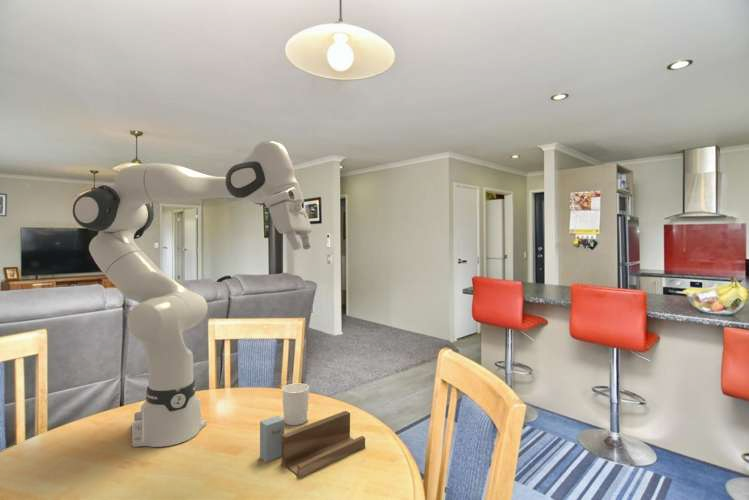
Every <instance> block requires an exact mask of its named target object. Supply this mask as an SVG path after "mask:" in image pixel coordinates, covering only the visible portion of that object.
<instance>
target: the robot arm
mask: <svg viewBox="0 0 749 500" xmlns="http://www.w3.org/2000/svg"><path fill="white" fill-rule="evenodd" d="M295 175H296V174H295V169H294V165H293V162H292V159H291V157H290V155H289V153H288V151H287V149H286V148H285V146H284V145H283V144H281V143H279V142H276V141H262V142H259V143H257V144H256V145H255V146H254V147H253V149H252V151H251V152H250V154H249V155H248V156H247V157H245V158H244V159H243V160H241V162H239V163H237V164H234V165H232V166H231V167H230V168H229V169H228V171H227V172H226V175H225V176H215V175H210V174H205V173H202V172H199V171H196V170H193V169H190V168H187V167H184V166H181V165H177V164H171V163H166V162H165V163H164V162H160V163H159V162H152V163H151V162H150V163H141V164H135V165H129V166H126V167H124V168H121V169H120V170H118V172H117V174H116V175H115V180H114V185H113V186H110V185H107V184H103V185H102V184H101V185H99V186H98V187H96V188H94V189H92V190H89V191H86V192H84V193H82V194H80V195H79V196H78V197H77V198H76V199H75V201H74V202H73V205H72V216H73V218H74V220H75V222H76V223H77V224H78V225H79V226H81V227H82V228H84V229H87V230H90V231H94V232H97V235H95V236H94V237H93V238H92V239H91V240H90V243H89V245H88V251H89V253H90V256H91V257H92V259H93V261H94V262H95V264H96V265H97V267H98V268H99V269H100V271H101V272H102V274H104V275H105V277H106V278H107V279H108V281H110V282H111V283H112V285H114V286H115V288H116V289H117V290H118V292H120V293H121V294H122V295H123V297H125V298H126V299H128V300H131V301H134V302H137V303H139V304H137V305H135V306H133V308H131V310H130V311H129V313H128V315H127V321H126V322H127V328H128V330H129V332H130V333H131V335H132V336H133V337H134V338H135V339H137V340H139V341H140V342H141V344H142V345H143V348H144V351H145V353H146V359H147V365H148V366H147V368H148V386H147V388H146V391H145V401H144V402H143V403H142V405H140V411H136V412H134V413H133V414H134V417H133V419H134V421H132V423H131V446H132V447H134V448H135V447H152V448H162V447H163V448H164V447H168V446H169V447H171V446H173V445H177V444H178V445H179V444H181V443H184V442H186V441H189V440H191V439H193V438H194V437H196V435H198V434H199V432H200V431H201V429H203V428H204V427H206V426H207V420H206V419H204V418H202V407H201V399H200V397H198V396H197V395H196V381H195V379H194V354H193V352H192V350H191V349H189V348H188V347H187V346H186V344H185V340H184V335H183V333H184V332H185V331H187V330H191V329H193V328H194V327H196V326H197V325H199V324H200V323H201V322H202V321H203V320H205V318H206V316H207V314H208V311H209V309H208V308H209V306H208V303H207V300H206V299H205V297H204V296H202V294H199V293H197V292H195V291H191V290H189V289H188V288H186V287H185V286H183V285H182V284H180V283H178V282H177V281H176V280H174V279H173V278H171V277H170V276H168V275H167V274H166V273H165V272H164V271H162V270H161V269H160V267H158V266H157V265H156V264H155V263H154V262H153V261H152V260H151V259H150V258H149V257H148V256H147V254H146V253H145V252H144V251H143V250H142V249H141V248H140V247H139V246H138V245H137V244H136V241H135V240H136V239H139V238H141V237H142V236H143V235H144V233H145V232H146V231H147V229H149V228H150V226H151V225H152V223H153V220H154V216H155V215H154V209H153V207H152V205H151V204H175V203H180V202H181V203H182V202H188V201H189V202H191V201H196V200H199V201H200V200H206V199H239V200H242V201H243V200H244V201H247V202H251V203H254V204H256V205H259V206H265V207H266V208H267V209H268V212H269V216H270V218H271V220H272V222H273V225H274V227H275V229H276V230H277V232H278V233H279V234H283V235H284V234H285V236H286V239H287V240H288V241H289V243H290V245H291V248H292V250H294V251H297V250H301V248H303V250H307V251H308V250H310V249H311V243H310V235H309V234H311V233H312V232H313V229H312V228H313V227H312V224H311V221H310V219H309V216H308V214H307V212H306V210H305V208H304V207H302V206H301V205H303V204H304V202H305V199H304V196H303V193H302V190H301V187H300V184H299V182H298V181H297V179H296V176H295ZM296 235H297V236H299V237H300V239H301V243H302V244H300V241H299V240H298V237H297V236H296ZM301 245H302V246H301Z"/></svg>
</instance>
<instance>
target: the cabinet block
mask: <svg viewBox="0 0 749 500" xmlns="http://www.w3.org/2000/svg"><path fill="white" fill-rule="evenodd" d="M284 433H285V422H284V418H283V417H282V416H280V415H275V416H272V417H269V418H266V419H263V420H261V421H259V458H260V459H262V460H263V461H264V462H265V463H268V462H270V461H273V460H275V459H278V458H280V457H282V434H284Z"/></svg>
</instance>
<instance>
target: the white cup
mask: <svg viewBox="0 0 749 500" xmlns="http://www.w3.org/2000/svg"><path fill="white" fill-rule="evenodd" d="M281 390H282V405H283V406H282V408H283V417H284V418H283V419H284V424H286V425H287V426H299V425H304V424H305V423H306V422H307V421H308V410H309V398H310V397H309V396H310V395H309V394H310V387H309V384H306V383H301V382H296V383H295V382H294V383H289V384H286V385H284V386H283V387H282V389H281Z"/></svg>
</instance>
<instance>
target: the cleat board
mask: <svg viewBox="0 0 749 500" xmlns="http://www.w3.org/2000/svg"><path fill="white" fill-rule="evenodd" d="M364 448H366V436H364V435H361V436H359V437H356V438H353V437H351V412H349V411H347V410H343V411H341V412H339V413H335V414H333V415H331V416H328V417H325V418H323V419H320V420H316V421H314V422H312V423H309V424H308V423H307V424H306V425H304V426H300V427H297V428H296V429H293V430H290V431H287V432H284V434H282V456H281V464H282V465H283V466H284V467H286V468H287V469H288V470H289V471H291V472H292V473H293V474H295V475H296V476H297V477H298V478H299V479H301V478H303V477H305V476H307V475H310V474H311V473H313V472H315V471H318V470H319V469H322V468H324V467H326V466H329V465H330V464H332V463H335V462H337V461H338V460H340V459H342V458H345V457H347V456H349V455H351V454H353V453H355V452H358V451H360V450H362V449H364Z"/></svg>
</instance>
